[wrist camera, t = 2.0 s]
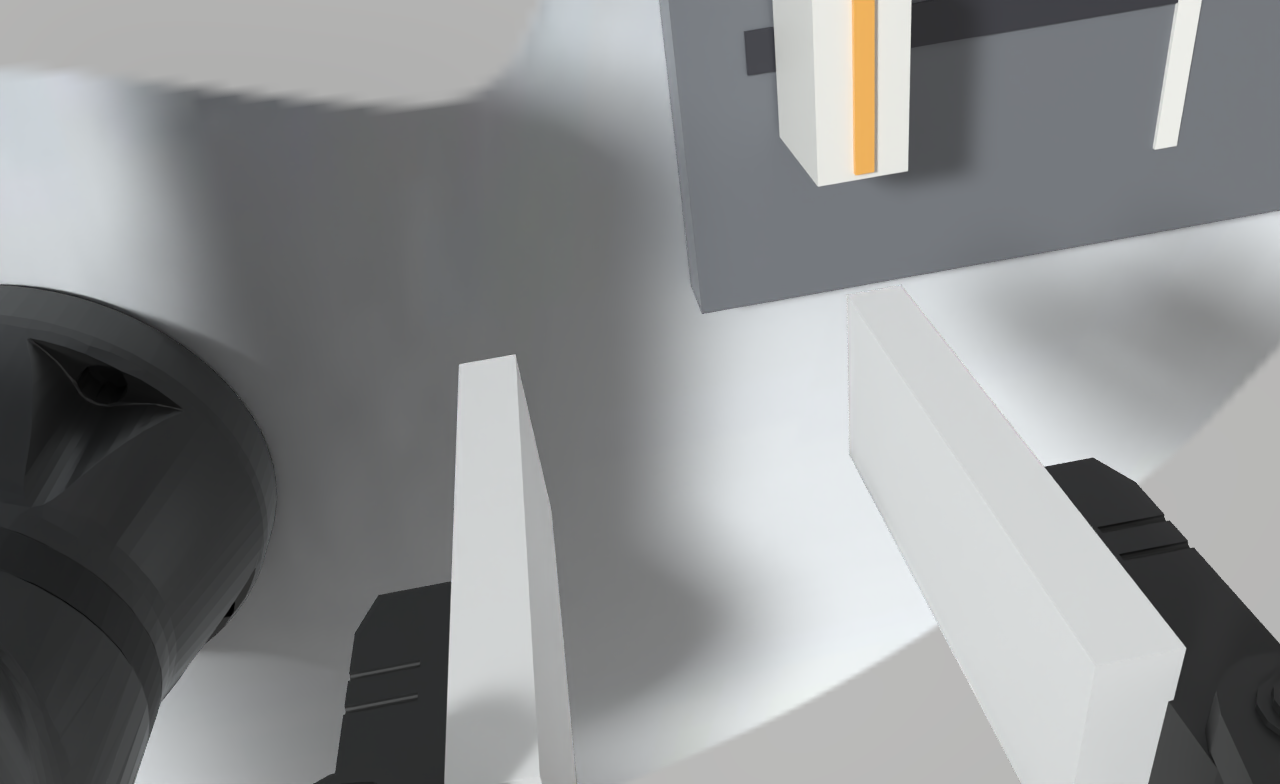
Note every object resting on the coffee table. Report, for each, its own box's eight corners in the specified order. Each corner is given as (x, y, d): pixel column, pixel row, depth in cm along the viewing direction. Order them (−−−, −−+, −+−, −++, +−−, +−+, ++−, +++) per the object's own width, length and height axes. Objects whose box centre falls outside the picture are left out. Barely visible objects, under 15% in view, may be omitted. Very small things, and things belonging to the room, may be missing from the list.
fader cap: (779, 136, 29) (819, 188, 26) (769, -46, 27) (813, -15, 23) (859, 123, 29) (910, 172, 26) (858, -60, 27) (914, -32, 23)
